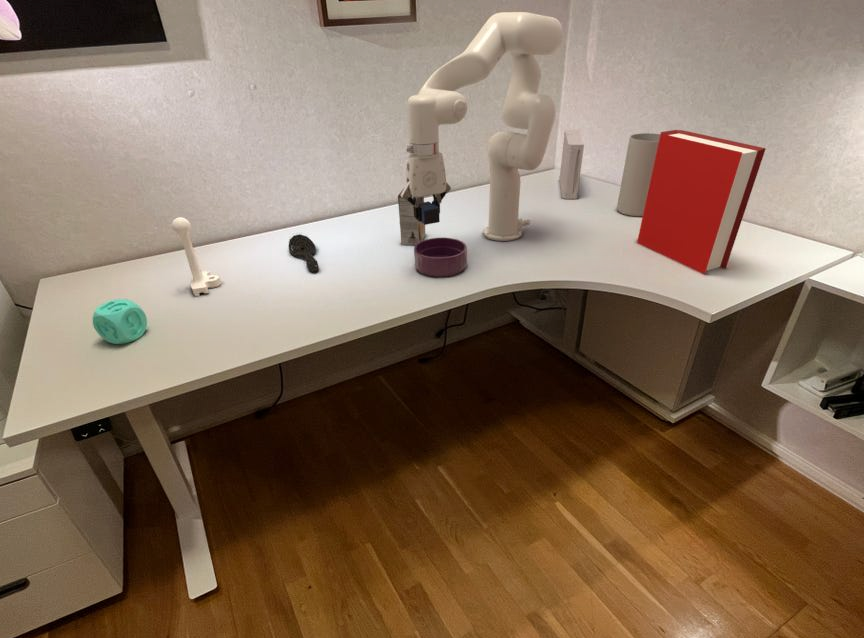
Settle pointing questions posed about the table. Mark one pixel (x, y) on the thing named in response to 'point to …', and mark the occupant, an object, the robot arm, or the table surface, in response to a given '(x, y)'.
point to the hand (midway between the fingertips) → (427, 217)
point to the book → (698, 197)
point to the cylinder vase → (637, 173)
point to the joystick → (194, 260)
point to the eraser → (429, 213)
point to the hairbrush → (304, 251)
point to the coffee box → (409, 222)
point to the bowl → (440, 257)
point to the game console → (571, 164)
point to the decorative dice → (119, 321)
